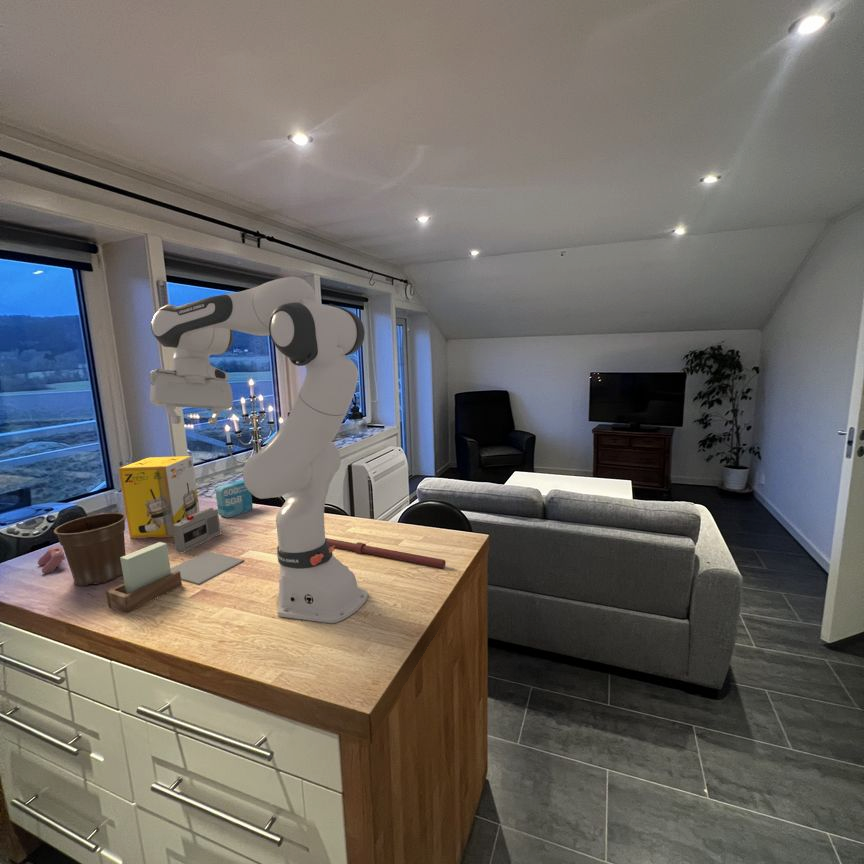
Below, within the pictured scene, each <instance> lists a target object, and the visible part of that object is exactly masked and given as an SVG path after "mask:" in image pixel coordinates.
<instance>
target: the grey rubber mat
mask: <svg viewBox="0 0 864 864" xmlns="http://www.w3.org/2000/svg"><path fill="white" fill-rule="evenodd" d="M242 561H243V562H245V559H242V558H237V557H233V556H229V555H225V554H221V553H216V552H212V551H205V552H203V553H201V554H199V555H197V556H194V557H192V558H190V559H188V560H186V561H184V562H181V563H179V564H177V565H175V566H173V567H170V570H171V573H173V572H175V571H180V575H181V581H185V582H188V583H191V582H192V583H191V584H196V585H198V584H199V585H202V584H203V583H205V582H207V581H209V580H211V579H213V578H214V576H215V577H216V575H217V576H218V575H220V574H223V573H225V572H226V571H228V570H230V569H232V568H233V566H234V567H235V565H236V566H237V564H238V563H239V564H241V563H243V562H242ZM240 562H241V563H240ZM239 564H238V565H239ZM231 567H232V568H231ZM229 568H230V569H229ZM212 577H213V578H212ZM210 578H211V579H210ZM208 579H209V580H208ZM206 580H207V581H206ZM204 581H205V582H204ZM202 582H203V583H202Z"/></svg>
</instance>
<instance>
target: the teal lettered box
mask: <svg viewBox="0 0 864 864" xmlns="http://www.w3.org/2000/svg"><path fill="white" fill-rule="evenodd" d="M252 496H253V495H252V494H251V493H250V492H249V491H248V489H247V488H246V486H245V484H244V481H243V479H241V480H237V481H233V482H230V483H226V484H222V485H218V486H217V487H216V488H215V498H216V505H217V509H218V515H219V517H223V518H227V519H228V518H232V517H234V516H237V515H240V514H244V513H247V512H249V510H250V511H252V509H253V497H252ZM246 511H247V512H246ZM243 512H244V513H243Z"/></svg>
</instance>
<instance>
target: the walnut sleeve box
mask: <svg viewBox="0 0 864 864" xmlns="http://www.w3.org/2000/svg"><path fill="white" fill-rule="evenodd" d="M182 581H183V580H181V575H180V571H175V572H173V573H171V574H169V575H167V576H165V577H163V578H161V579H158V580H156V581H154V582H152V583H150V584H148V585H146V586H143V587H141V588H139V589H137V590H135V591H133V592H131V593H129V594H126V589H125V583H122V584H119V585H117V586H115V587H112V588H110V589H108V590H106V591H105V595H106V600H107V605H108V607H109V608H112V609H115V610H118V611H121V612H123V613H126V614H128V613H130V612H133V611H134V610H136V609H138V608H139V607H143V606H144V605H145V603H146V604H148V603H150V602H152V601H154V600H155V598H156V599H157V597H158V598H160V597H162V596H164V595H166V594H168V593H170V592H172V591H173V590H175V589H178V588H179V587H181V586H183V582H182ZM177 587H178V588H177ZM167 592H168V593H167ZM163 594H164V595H163ZM161 595H162V596H161ZM159 596H160V597H159ZM153 599H154V600H153ZM151 600H152V601H151ZM149 601H150V602H149ZM147 602H148V603H147Z"/></svg>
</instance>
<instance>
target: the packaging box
mask: <svg viewBox="0 0 864 864" xmlns="http://www.w3.org/2000/svg"><path fill="white" fill-rule="evenodd" d="M118 471H119V478H120V485H121V491H122V494H123V495H122V497H123V503H124V508H125V515H126V520H127V521H126V522H127V526H128V527H127V528H128V533H129V539H141V538H140V537H154V538H174V533H173V526H172V525H174V524H176V523H179V522H181V521H184V520H186V519H187V517H188V516H190V515H193V514H195V513H198V512H200V511H201V509H200V503H199V498H198V497H199V495H198V488H197V482H196V474H195V466H194V460H193V455H185V456H182V455H181V456H179V455H178V456H157V457H156V456H152V457H147V458H143V459H141V460H139V461H136V462H132V463H130V464H127V465H124V466H122V467H118ZM137 537H138V538H137Z"/></svg>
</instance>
